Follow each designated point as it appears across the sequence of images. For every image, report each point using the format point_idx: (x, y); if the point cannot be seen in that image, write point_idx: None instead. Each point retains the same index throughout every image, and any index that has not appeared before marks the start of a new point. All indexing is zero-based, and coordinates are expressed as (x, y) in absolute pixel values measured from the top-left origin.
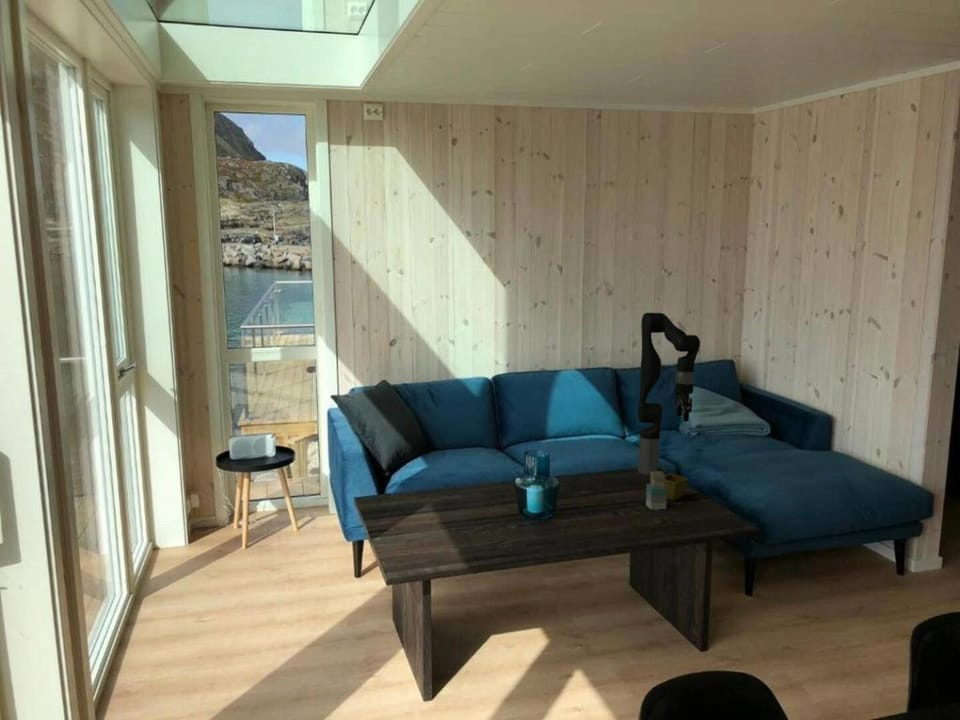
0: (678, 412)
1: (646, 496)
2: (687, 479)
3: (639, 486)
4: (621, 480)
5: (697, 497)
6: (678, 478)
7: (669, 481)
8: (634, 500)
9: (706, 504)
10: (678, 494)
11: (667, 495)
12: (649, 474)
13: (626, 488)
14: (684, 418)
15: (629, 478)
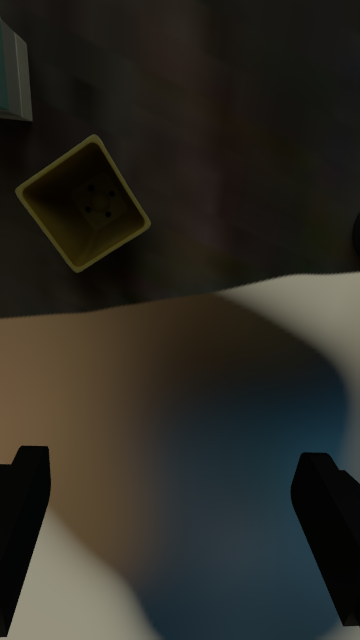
0: (323, 507)
1: (10, 29)
2: (73, 269)
3: (247, 116)
4: (338, 59)
5: (102, 295)
6: (113, 243)
7: (43, 169)
8: (75, 3)
9: (32, 296)
10: (62, 213)
11: (80, 172)
12: (358, 218)
13: (235, 36)
14: (10, 481)
15: (350, 113)
